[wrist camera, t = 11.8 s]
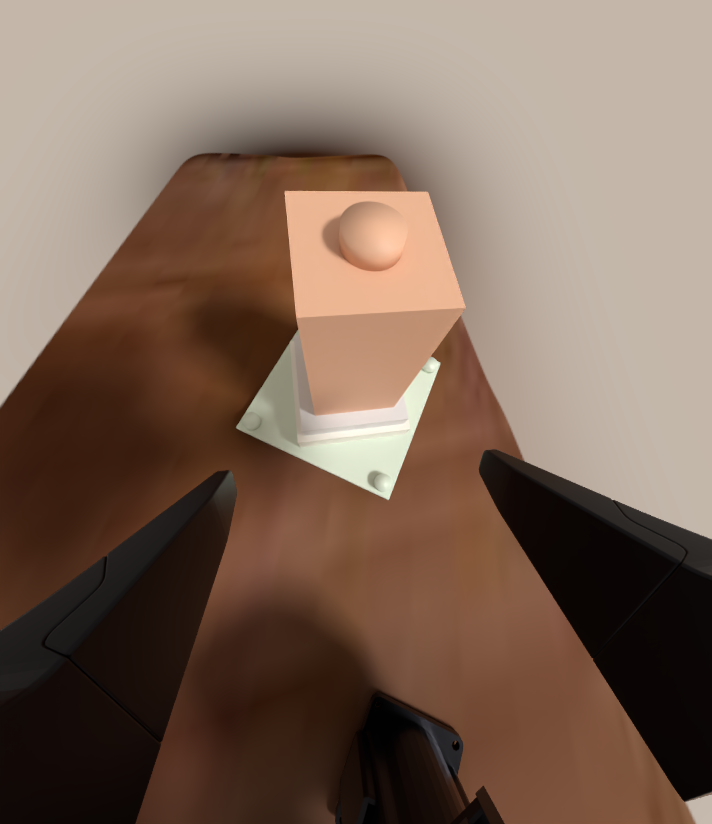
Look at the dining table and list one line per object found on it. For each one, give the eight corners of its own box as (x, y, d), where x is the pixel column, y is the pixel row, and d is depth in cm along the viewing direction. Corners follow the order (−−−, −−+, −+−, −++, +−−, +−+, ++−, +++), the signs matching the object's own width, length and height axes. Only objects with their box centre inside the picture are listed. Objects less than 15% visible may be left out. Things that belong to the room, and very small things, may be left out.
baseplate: (437, 366, 26) (443, 359, 25) (386, 499, 22) (390, 500, 20) (313, 311, 27) (312, 301, 25) (238, 430, 22) (232, 425, 21)
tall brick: (393, 407, 20) (478, 290, 8) (315, 415, 19) (293, 300, 8) (380, 339, 21) (435, 169, 10) (307, 344, 21) (281, 166, 9)
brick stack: (403, 434, 23) (416, 424, 19) (300, 447, 22) (295, 438, 18) (385, 346, 25) (394, 323, 22) (292, 353, 24) (286, 330, 21)
